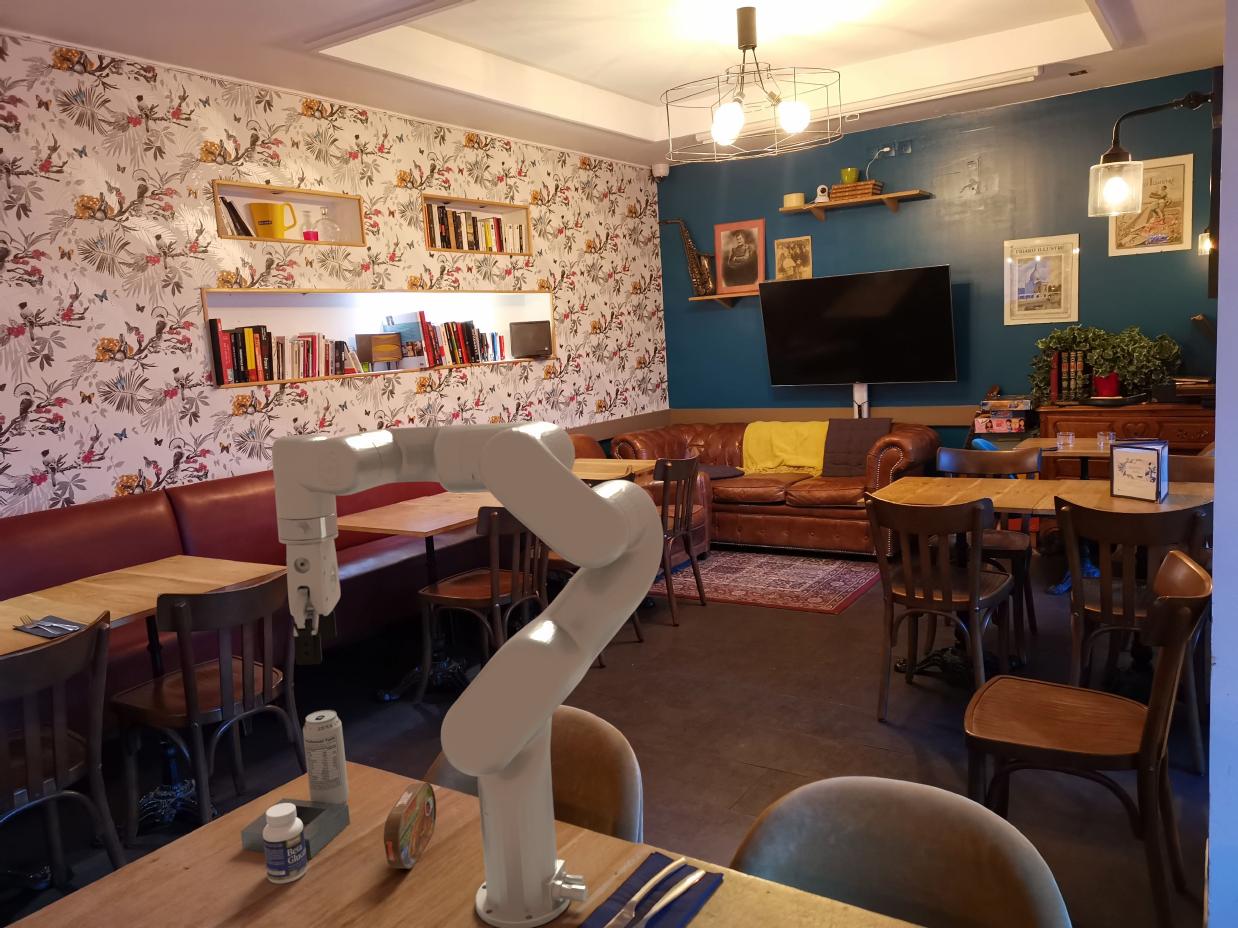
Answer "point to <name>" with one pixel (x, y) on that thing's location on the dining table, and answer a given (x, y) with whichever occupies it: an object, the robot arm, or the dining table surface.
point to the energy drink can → (325, 757)
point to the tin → (410, 825)
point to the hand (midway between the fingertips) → (317, 650)
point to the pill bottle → (284, 844)
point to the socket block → (317, 815)
